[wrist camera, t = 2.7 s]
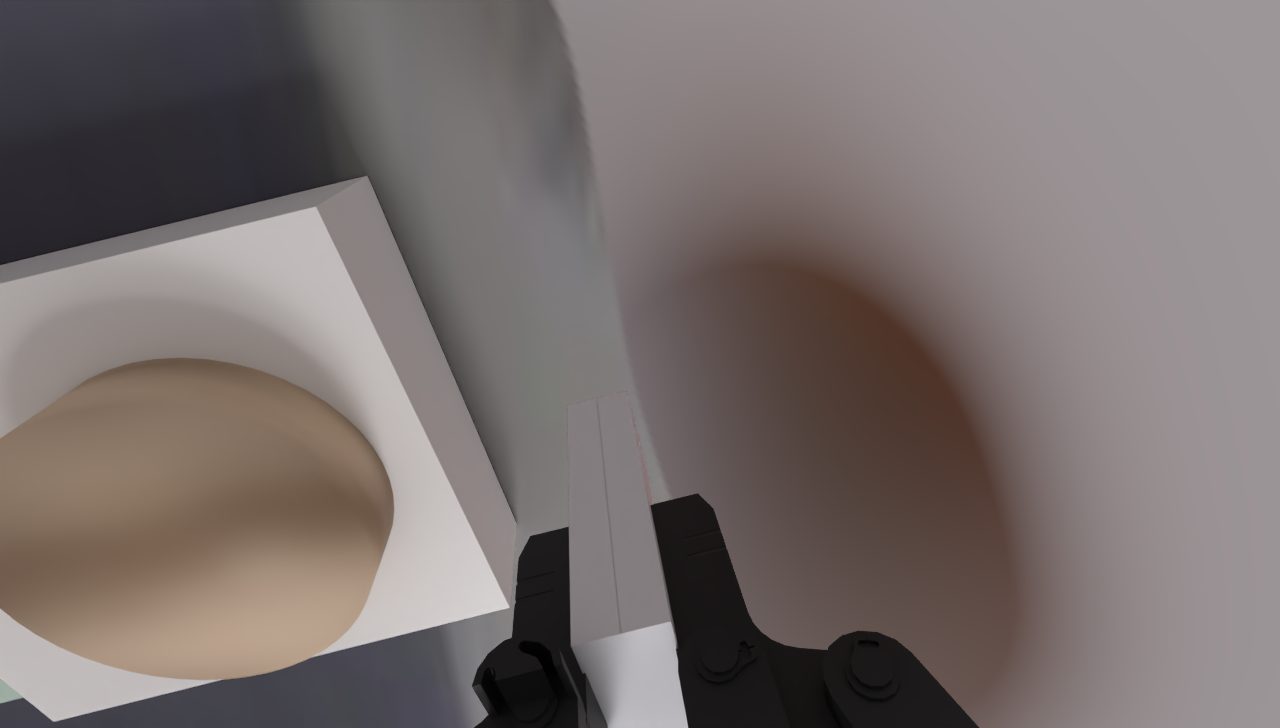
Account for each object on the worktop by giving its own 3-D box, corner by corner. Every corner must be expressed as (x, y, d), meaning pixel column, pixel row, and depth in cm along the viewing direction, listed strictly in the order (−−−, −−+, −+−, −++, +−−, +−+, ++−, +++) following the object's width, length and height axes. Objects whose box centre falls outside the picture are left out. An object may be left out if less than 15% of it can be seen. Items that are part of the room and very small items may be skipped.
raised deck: (517, 525, 23) (510, 607, 20) (130, 621, 23) (53, 721, 20) (367, 175, 17) (316, 206, 13) (-178, 308, 17) (-376, 375, 13)
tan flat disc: (438, 570, 19) (424, 634, 17) (162, 636, 19) (111, 710, 16) (310, 322, 14) (268, 366, 12) (-53, 404, 14) (-158, 464, 12)
